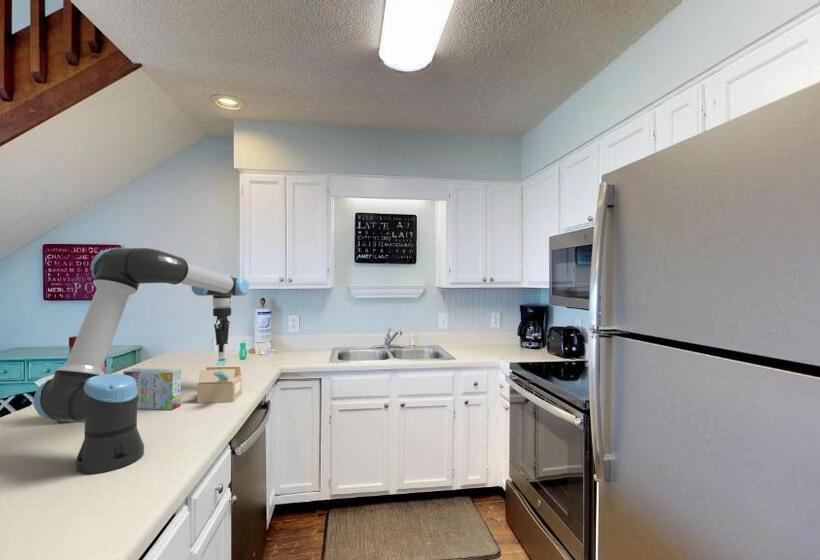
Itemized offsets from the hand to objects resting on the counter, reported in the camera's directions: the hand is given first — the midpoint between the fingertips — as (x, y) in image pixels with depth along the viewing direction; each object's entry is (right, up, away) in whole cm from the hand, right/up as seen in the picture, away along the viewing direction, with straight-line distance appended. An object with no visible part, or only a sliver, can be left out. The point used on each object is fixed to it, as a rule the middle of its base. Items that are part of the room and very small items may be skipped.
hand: (222, 358), depth 173 cm
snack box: (-17, -15, -22) cm, 32 cm away
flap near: (+5, -4, -15) cm, 17 cm away
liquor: (-37, -15, -35) cm, 53 cm away
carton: (+5, -15, -11) cm, 19 cm away
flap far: (+4, -4, -8) cm, 10 cm away
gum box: (-55, -15, -4) cm, 57 cm away
